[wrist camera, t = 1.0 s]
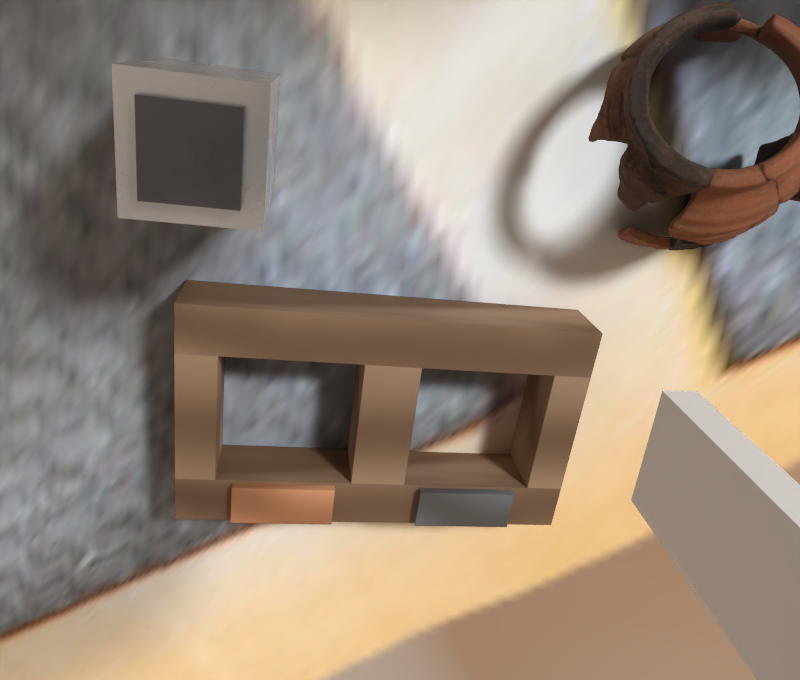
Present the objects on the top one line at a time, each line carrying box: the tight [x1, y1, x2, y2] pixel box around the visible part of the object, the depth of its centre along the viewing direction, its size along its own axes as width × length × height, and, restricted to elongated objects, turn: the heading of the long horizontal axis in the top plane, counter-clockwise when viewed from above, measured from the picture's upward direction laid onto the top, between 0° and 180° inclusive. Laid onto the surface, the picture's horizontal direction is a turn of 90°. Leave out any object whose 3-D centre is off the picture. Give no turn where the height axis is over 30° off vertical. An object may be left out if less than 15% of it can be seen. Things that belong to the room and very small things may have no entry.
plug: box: [112, 59, 280, 231], centre depth 23 cm, size 4×4×9 cm
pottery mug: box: [589, 2, 800, 250], centre depth 28 cm, size 12×10×8 cm
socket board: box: [174, 280, 602, 527], centre depth 32 cm, size 11×19×3 cm, turn 83°
